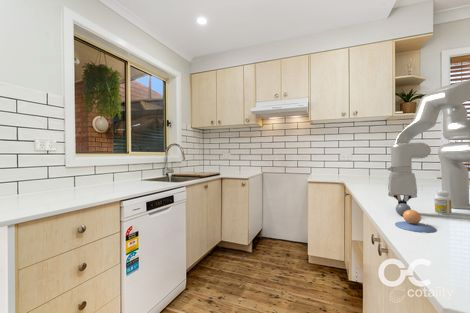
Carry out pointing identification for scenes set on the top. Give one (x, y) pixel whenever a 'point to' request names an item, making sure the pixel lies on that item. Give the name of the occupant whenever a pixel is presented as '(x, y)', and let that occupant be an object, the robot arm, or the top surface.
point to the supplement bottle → (443, 203)
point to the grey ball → (402, 208)
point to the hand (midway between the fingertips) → (402, 209)
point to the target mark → (415, 227)
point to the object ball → (412, 216)
